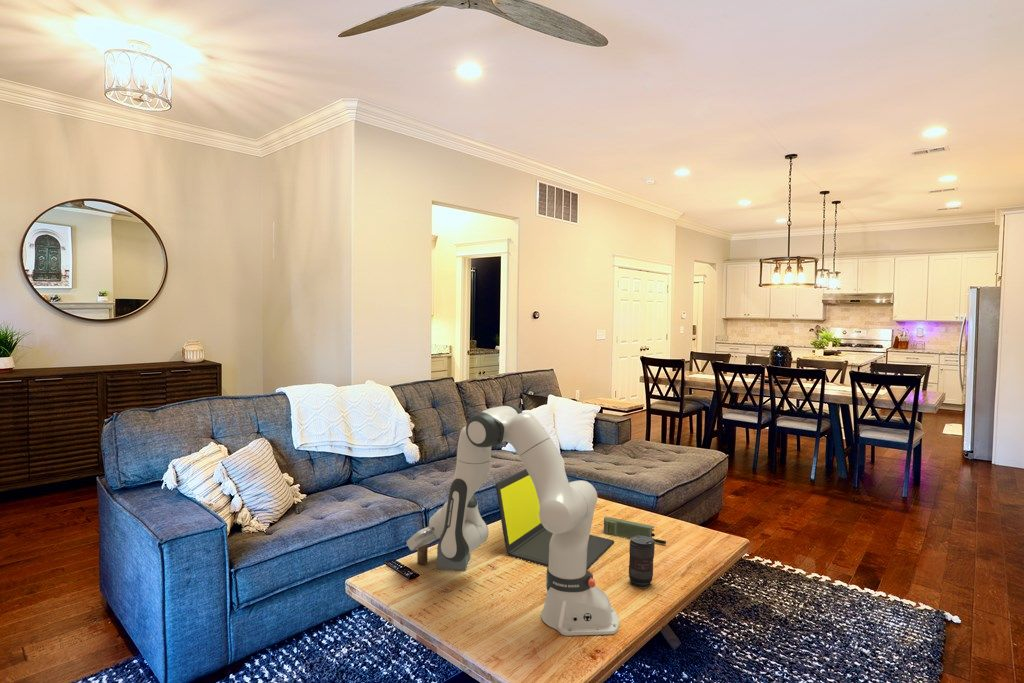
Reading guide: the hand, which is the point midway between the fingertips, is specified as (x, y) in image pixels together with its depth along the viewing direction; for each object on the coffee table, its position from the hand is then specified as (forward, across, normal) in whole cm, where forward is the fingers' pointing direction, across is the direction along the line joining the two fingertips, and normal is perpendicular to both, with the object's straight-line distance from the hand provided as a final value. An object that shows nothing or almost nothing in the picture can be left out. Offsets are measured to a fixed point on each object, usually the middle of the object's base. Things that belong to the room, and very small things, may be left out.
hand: (421, 545), depth 198 cm
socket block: (-2, +7, -11) cm, 13 cm away
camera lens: (-42, +35, -52) cm, 76 cm away
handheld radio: (-30, +69, -41) cm, 86 cm away
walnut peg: (+4, 0, -5) cm, 6 cm away
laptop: (-16, +42, -26) cm, 52 cm away
